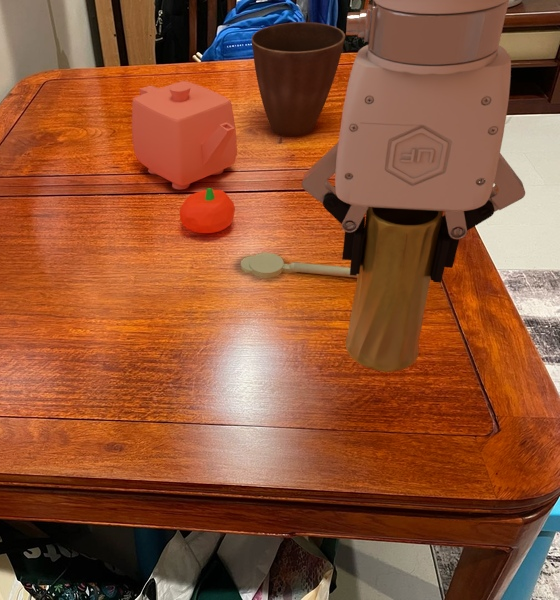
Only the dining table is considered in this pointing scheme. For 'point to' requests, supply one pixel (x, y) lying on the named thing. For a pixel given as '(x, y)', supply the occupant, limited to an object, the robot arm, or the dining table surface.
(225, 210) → the pumpkin
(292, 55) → the flower pot
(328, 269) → the spoon
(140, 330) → the dining table surface
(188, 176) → the teapot
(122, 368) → the dining table surface
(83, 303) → the dining table surface
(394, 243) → the vase
